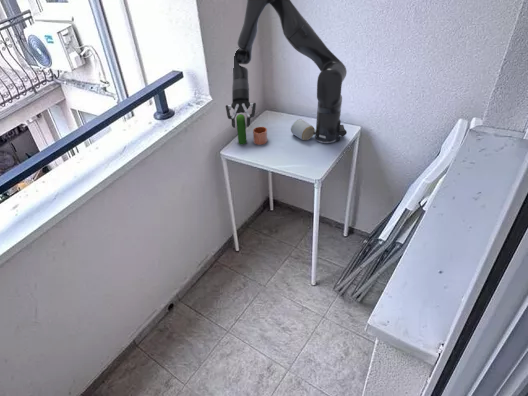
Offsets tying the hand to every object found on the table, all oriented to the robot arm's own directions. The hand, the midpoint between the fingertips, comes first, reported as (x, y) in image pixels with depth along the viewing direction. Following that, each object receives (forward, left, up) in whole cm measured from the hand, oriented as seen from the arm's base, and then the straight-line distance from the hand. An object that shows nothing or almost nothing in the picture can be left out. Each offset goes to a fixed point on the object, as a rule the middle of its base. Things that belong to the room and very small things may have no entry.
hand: (241, 126), depth 163 cm
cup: (-8, -2, -10) cm, 13 cm away
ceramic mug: (-28, -5, -10) cm, 30 cm away
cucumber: (0, -2, -10) cm, 10 cm away
